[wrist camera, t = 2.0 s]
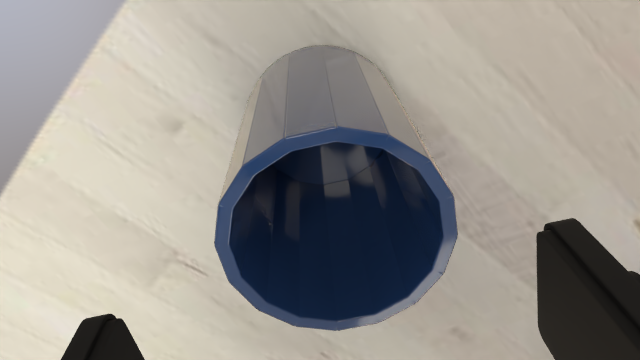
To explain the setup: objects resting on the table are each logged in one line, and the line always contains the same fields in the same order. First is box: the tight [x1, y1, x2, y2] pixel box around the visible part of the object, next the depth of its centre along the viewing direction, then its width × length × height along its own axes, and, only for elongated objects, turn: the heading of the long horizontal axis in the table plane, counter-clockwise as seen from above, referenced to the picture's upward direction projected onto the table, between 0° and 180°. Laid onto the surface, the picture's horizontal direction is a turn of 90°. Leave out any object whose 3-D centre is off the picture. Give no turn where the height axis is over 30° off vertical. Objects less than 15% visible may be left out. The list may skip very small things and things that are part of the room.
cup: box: [214, 46, 458, 331], centre depth 17 cm, size 6×6×9 cm
